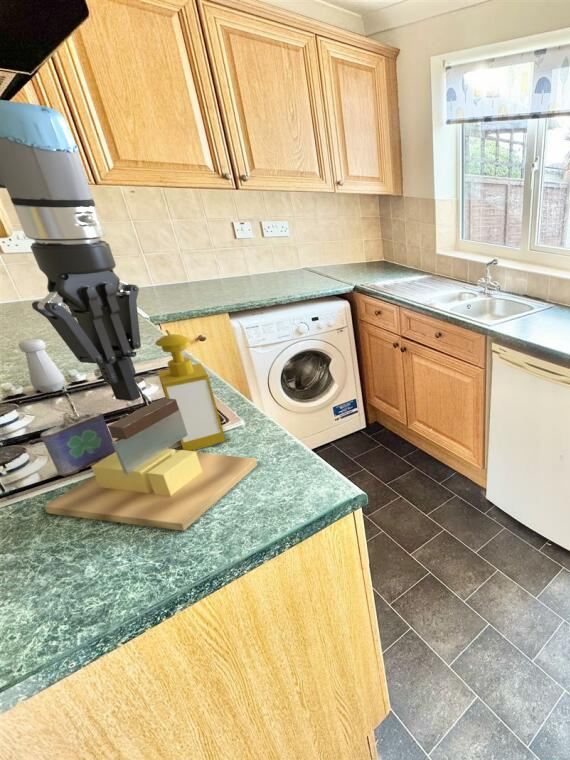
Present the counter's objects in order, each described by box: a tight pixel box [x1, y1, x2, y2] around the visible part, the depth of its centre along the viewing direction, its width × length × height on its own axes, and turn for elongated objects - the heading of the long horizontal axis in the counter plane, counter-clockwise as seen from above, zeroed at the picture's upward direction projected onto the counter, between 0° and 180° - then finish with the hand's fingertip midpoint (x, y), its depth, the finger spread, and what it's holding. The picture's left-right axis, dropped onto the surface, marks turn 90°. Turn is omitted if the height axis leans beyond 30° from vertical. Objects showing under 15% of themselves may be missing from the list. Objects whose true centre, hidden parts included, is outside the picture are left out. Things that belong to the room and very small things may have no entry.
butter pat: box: [147, 449, 202, 496], centre depth 74 cm, size 3×7×4 cm, turn 174°
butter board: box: [44, 449, 258, 532], centre depth 76 cm, size 24×18×2 cm
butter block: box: [90, 448, 176, 493], centre depth 75 cm, size 9×7×4 cm
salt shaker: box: [18, 338, 66, 394], centre depth 103 cm, size 6×6×13 cm
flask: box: [40, 411, 116, 477], centre depth 79 cm, size 9×3×11 cm, turn 164°
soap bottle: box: [154, 329, 227, 451], centre depth 87 cm, size 7×13×24 cm, turn 43°
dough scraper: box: [107, 397, 188, 474], centre depth 71 cm, size 2×12×8 cm, turn 174°
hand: (128, 398), depth 65 cm, fingers closed
